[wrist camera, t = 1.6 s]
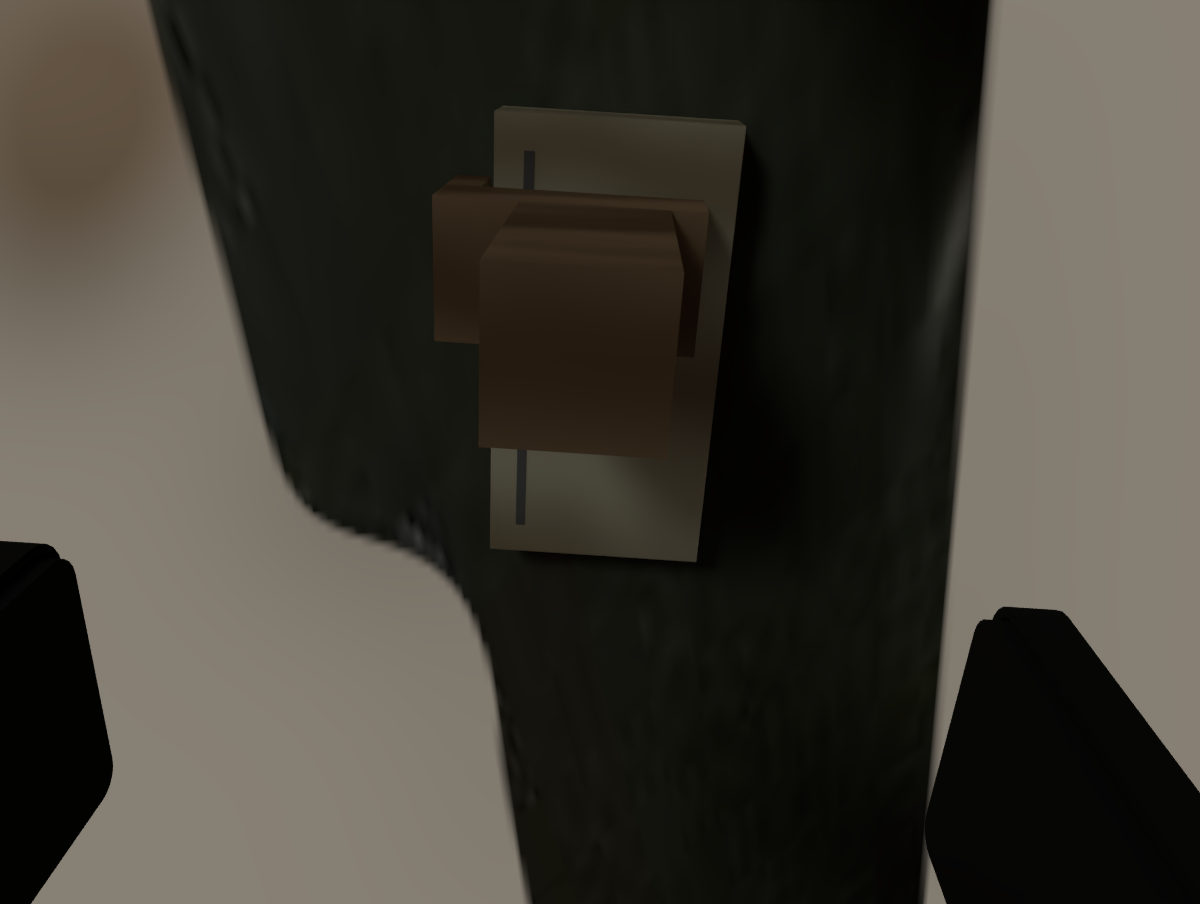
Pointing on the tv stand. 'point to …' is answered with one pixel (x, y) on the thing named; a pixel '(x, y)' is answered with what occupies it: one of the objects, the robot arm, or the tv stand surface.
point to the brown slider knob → (569, 311)
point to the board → (676, 485)
